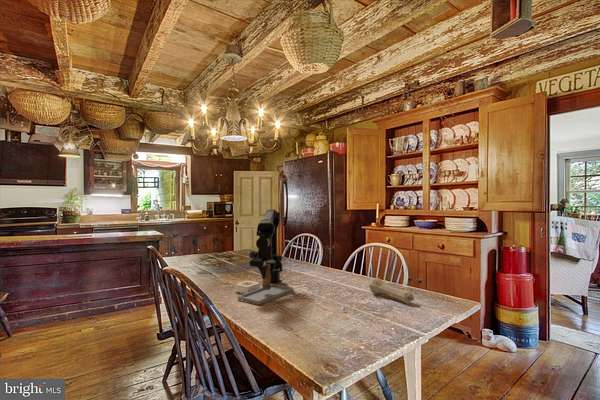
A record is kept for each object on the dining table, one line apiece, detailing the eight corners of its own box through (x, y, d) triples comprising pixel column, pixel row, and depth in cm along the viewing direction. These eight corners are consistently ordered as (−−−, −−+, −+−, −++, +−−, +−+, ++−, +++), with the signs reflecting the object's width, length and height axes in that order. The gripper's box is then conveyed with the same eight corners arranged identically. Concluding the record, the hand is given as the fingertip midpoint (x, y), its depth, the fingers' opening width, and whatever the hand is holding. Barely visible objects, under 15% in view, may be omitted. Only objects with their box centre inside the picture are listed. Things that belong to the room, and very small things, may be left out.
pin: (266, 287, 157) (265, 263, 157) (272, 288, 154) (271, 264, 154) (260, 289, 153) (260, 265, 153) (267, 290, 151) (266, 265, 151)
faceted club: (377, 288, 160) (421, 303, 140) (366, 296, 155) (409, 312, 135) (375, 273, 158) (418, 286, 138) (363, 280, 154) (406, 294, 133)
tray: (272, 287, 168) (272, 283, 168) (293, 291, 160) (293, 287, 160) (237, 299, 147) (237, 296, 147) (259, 305, 139) (259, 301, 139)
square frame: (247, 287, 167) (247, 280, 167) (260, 290, 162) (259, 282, 162) (235, 292, 160) (235, 284, 160) (247, 294, 155) (247, 286, 155)
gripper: (266, 243, 166) (266, 272, 166) (241, 247, 151) (241, 279, 151) (282, 244, 160) (282, 274, 160) (258, 249, 144) (258, 282, 144)
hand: (266, 277), depth 154 cm, fingers closed on pin, 4 cm apart
